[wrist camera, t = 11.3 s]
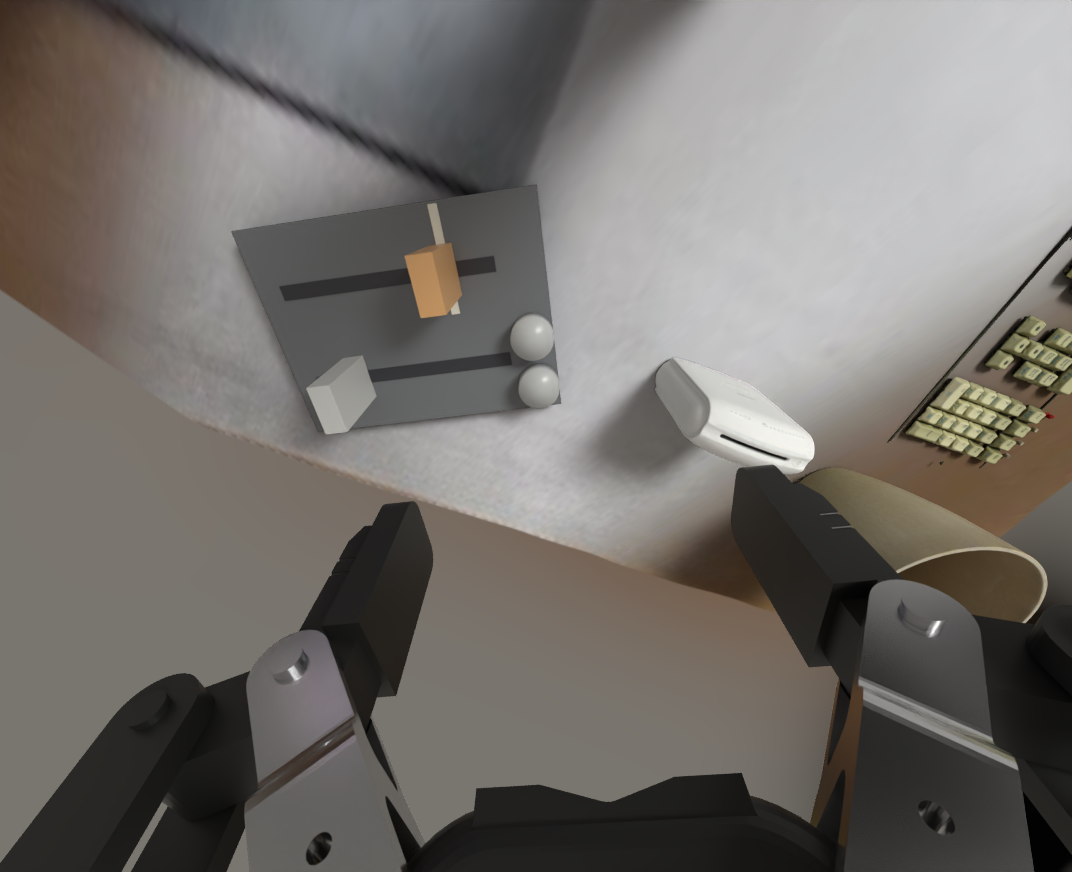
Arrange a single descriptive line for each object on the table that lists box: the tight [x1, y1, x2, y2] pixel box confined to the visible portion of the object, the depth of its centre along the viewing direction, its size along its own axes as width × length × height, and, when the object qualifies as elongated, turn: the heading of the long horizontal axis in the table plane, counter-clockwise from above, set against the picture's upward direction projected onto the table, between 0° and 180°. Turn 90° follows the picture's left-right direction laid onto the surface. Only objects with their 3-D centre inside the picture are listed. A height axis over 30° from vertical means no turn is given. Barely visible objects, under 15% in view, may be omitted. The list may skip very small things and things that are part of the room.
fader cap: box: [405, 242, 462, 318], centre depth 31 cm, size 4×2×7 cm, turn 8°
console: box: [231, 185, 561, 434], centre depth 34 cm, size 18×24×9 cm
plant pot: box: [799, 467, 1047, 623], centre depth 41 cm, size 15×15×16 cm
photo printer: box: [655, 358, 814, 474], centre depth 36 cm, size 10×4×12 cm, turn 69°
